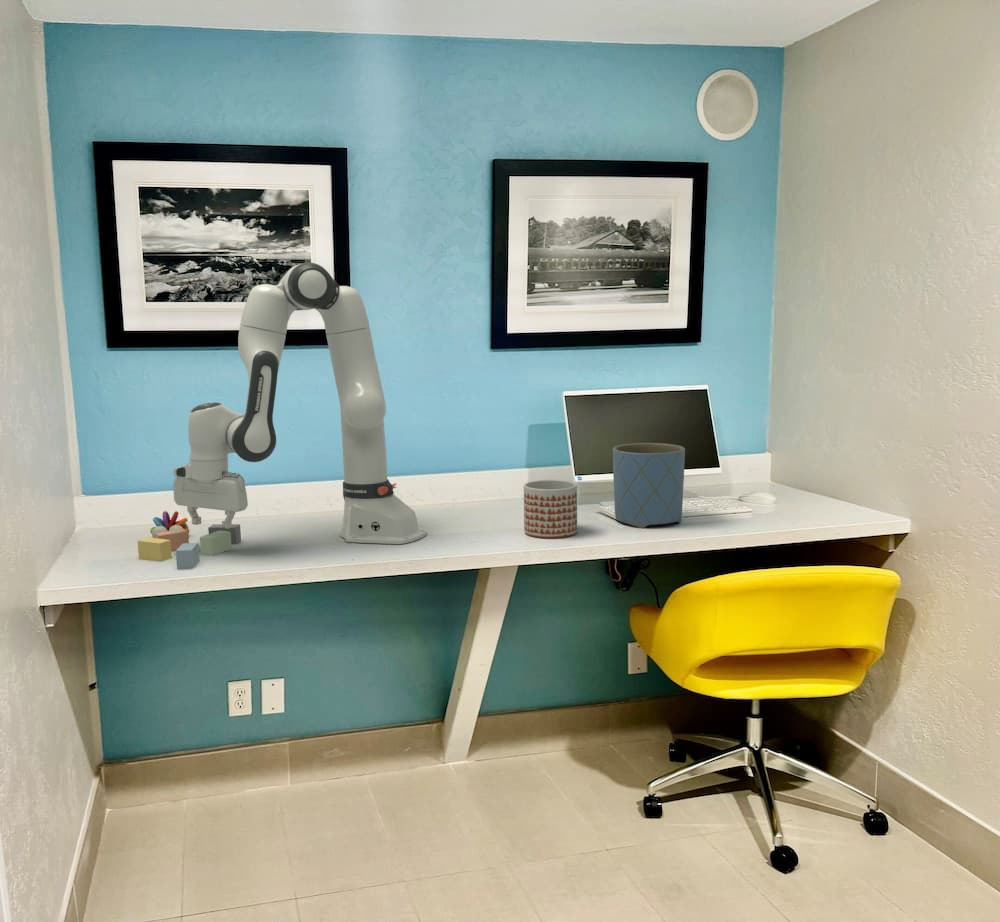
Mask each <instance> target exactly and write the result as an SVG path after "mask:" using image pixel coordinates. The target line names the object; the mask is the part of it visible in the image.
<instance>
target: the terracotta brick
mask: <svg viewBox="0 0 1000 922" xmlns="http://www.w3.org/2000/svg"><path fill="white" fill-rule="evenodd" d="M155 537H156V538H157V539H167V540H171V552H174V551H175V552H176V550H177V549H178V548H179V547H180V546H181V545H182V544H183V543H190V540H189V533H188V531H186V530H185V529H179V530H173V531H166V532H159V533H155Z"/></svg>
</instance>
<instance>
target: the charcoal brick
mask: <svg viewBox="0 0 1000 922" xmlns="http://www.w3.org/2000/svg"><path fill="white" fill-rule="evenodd" d="M207 529H208V530H207V531H208V534H211V533H214V532H217V531H228V532H231V545H238V544H239V543H241V542H242V535H241V534H242V533H241V524H239V523H238V524H237V523H236V524H234V523H232V527H231V528H229V529H226V528H222V523H221V524H220V523H218V524H216V523H215V524H212V525H210V526H208V528H207Z"/></svg>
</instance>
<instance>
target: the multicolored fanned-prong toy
mask: <svg viewBox="0 0 1000 922" xmlns="http://www.w3.org/2000/svg"><path fill="white" fill-rule="evenodd" d="M178 517H179V511H177V510H176V511H174V513H173V514H172V516H171V518H170V514H169V512H168V511H166V510H165V511H164V510H163V512H162V518H161V517H157V516H155V517H153V519H152V521H153V524H155V526H153V527H151V528H150V530H149V532H150V534H151V537H152V538H156V537H155V533H159V532H166V531H173V530H179V529H185V530H186V531H188V534H189V533H190V528H189V526H188V524H187V522H188V518H187V517H184V518H182V519H180V520H178Z"/></svg>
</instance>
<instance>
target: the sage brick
mask: <svg viewBox="0 0 1000 922" xmlns="http://www.w3.org/2000/svg"><path fill="white" fill-rule="evenodd" d="M199 543H200V544H199V546H200V548H199V549H200V555H201V554H202V556H209V555H211V557H212V556H213V557H214V556H216V555H219V554H221V552H222V553H224V551H225V552H226V551H227V552H228V551H230V550H232V549H233V547H232V545H233V544H231V532H228V531H217V532H214V533H211V534H209V533H208V534H205V535H202V536H199Z"/></svg>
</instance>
